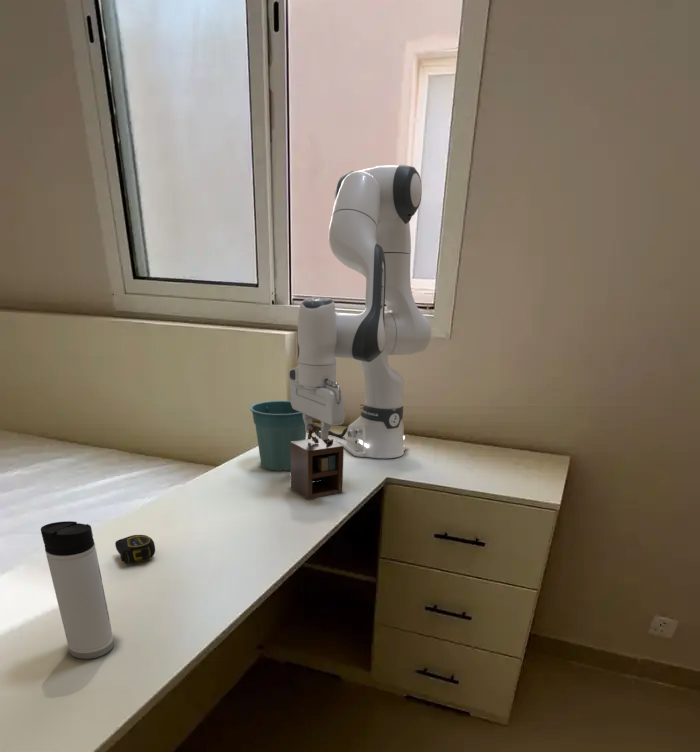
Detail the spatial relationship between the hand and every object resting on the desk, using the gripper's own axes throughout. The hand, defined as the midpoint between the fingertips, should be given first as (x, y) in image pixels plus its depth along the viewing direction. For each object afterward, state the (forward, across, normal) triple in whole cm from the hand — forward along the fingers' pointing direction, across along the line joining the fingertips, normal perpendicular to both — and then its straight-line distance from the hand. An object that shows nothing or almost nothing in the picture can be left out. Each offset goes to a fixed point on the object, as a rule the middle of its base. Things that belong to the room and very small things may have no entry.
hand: (316, 435), depth 147 cm
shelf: (+14, 0, 0) cm, 14 cm away
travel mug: (+14, -45, +65) cm, 80 cm away
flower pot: (+14, +23, -2) cm, 27 cm away
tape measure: (+14, -18, +51) cm, 56 cm away
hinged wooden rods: (+2, -1, 0) cm, 2 cm away
